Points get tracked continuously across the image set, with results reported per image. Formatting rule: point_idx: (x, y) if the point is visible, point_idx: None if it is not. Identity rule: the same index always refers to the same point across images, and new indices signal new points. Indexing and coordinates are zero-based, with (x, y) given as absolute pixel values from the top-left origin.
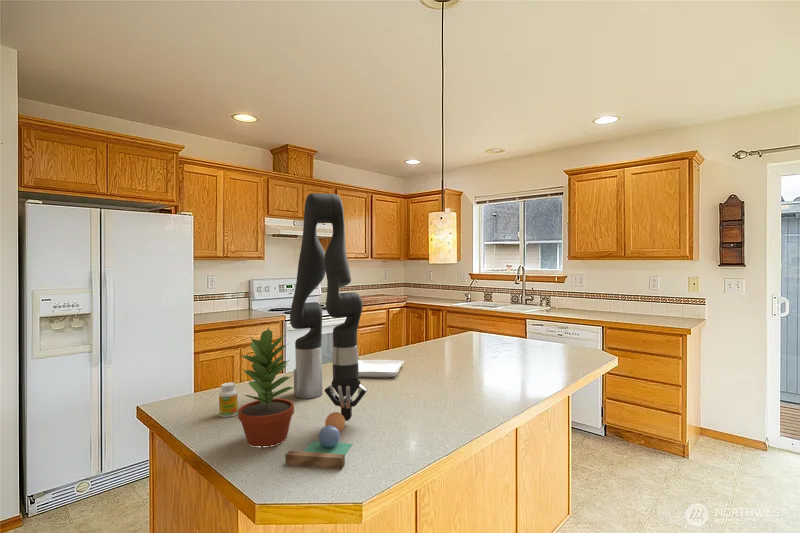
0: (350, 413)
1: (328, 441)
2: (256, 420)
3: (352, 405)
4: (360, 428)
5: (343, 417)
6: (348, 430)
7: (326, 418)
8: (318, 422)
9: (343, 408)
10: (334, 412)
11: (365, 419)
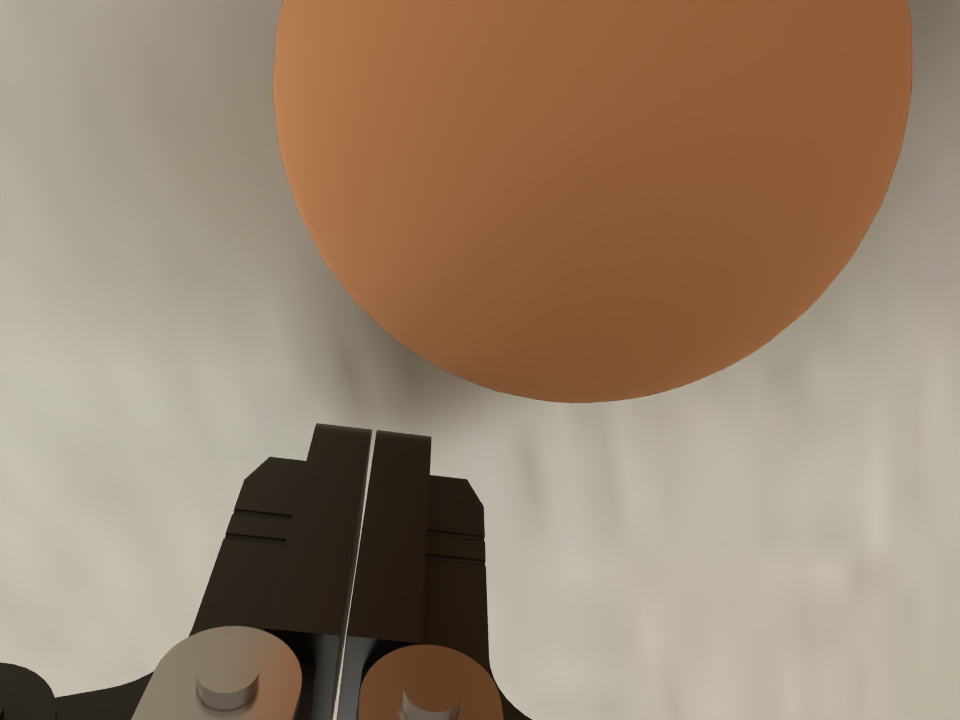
0: (222, 545)
1: None
2: None
3: (40, 704)
4: (36, 258)
5: (297, 145)
6: (271, 155)
7: (909, 82)
8: (934, 525)
9: (401, 644)
10: (657, 248)
11: (92, 632)
